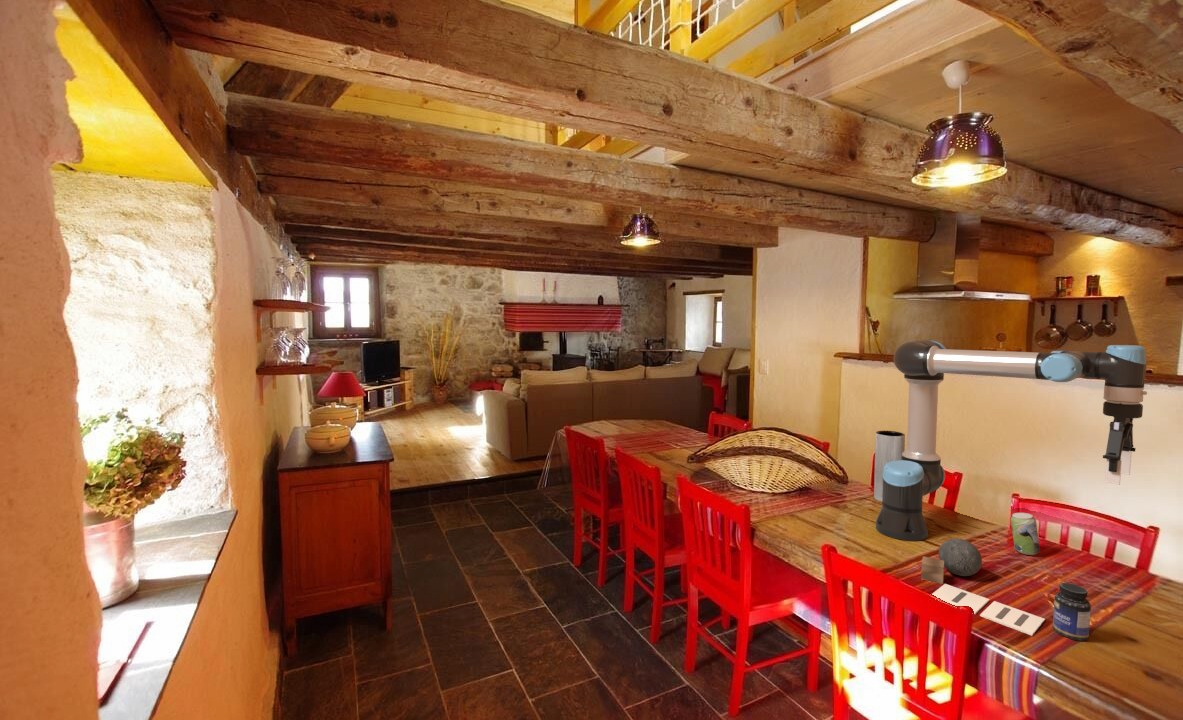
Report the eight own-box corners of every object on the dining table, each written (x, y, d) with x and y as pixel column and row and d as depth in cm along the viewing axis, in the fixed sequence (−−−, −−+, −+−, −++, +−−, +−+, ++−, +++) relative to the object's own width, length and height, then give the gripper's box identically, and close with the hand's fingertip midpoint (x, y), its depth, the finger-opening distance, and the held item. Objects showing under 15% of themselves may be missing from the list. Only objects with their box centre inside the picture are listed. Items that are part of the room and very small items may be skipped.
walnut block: (921, 580, 144) (921, 563, 144) (922, 573, 148) (923, 556, 148) (942, 585, 141) (943, 567, 141) (943, 577, 145) (944, 560, 145)
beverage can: (1044, 558, 156) (1046, 519, 155) (1016, 556, 157) (1018, 517, 156) (1031, 548, 162) (1033, 511, 161) (1004, 547, 163) (1006, 510, 163)
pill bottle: (1045, 626, 122) (1047, 581, 121) (1069, 624, 122) (1071, 580, 121) (1071, 642, 116) (1074, 595, 115) (1096, 641, 116) (1099, 593, 115)
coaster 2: (979, 616, 126) (980, 614, 126) (994, 602, 132) (994, 600, 132) (1032, 635, 118) (1032, 633, 118) (1044, 620, 124) (1044, 618, 124)
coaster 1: (929, 597, 135) (929, 595, 135) (945, 585, 141) (945, 583, 141) (975, 614, 127) (975, 612, 127) (989, 600, 133) (989, 598, 133)
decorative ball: (945, 580, 144) (947, 545, 143) (932, 564, 153) (933, 531, 152) (988, 584, 141) (989, 549, 140) (971, 567, 150) (973, 534, 150)
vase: (902, 505, 200) (904, 437, 198) (872, 501, 205) (874, 434, 203) (903, 498, 208) (905, 432, 206) (875, 493, 214) (876, 429, 212)
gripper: (1134, 409, 130) (1128, 491, 132) (1151, 398, 145) (1145, 473, 147) (1093, 405, 136) (1088, 483, 138) (1113, 395, 151) (1108, 467, 153)
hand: (1117, 478), depth 142 cm, fingers open, 13 cm apart
